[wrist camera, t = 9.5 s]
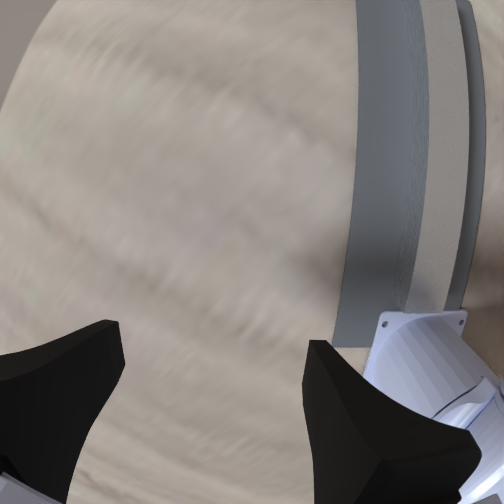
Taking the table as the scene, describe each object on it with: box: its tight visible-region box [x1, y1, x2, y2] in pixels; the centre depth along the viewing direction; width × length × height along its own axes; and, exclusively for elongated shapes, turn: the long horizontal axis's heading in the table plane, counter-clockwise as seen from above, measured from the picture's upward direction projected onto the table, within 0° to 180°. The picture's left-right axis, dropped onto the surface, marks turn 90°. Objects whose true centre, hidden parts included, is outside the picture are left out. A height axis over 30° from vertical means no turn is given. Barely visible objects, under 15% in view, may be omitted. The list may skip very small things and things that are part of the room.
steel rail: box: [390, 0, 469, 314], centre depth 15 cm, size 22×3×2 cm, turn 177°
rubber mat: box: [332, 0, 485, 347], centre depth 17 cm, size 28×10×1 cm, turn 177°
